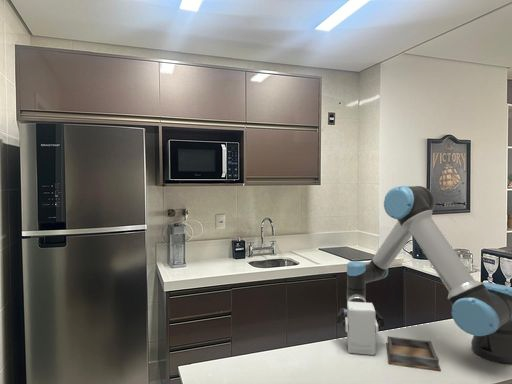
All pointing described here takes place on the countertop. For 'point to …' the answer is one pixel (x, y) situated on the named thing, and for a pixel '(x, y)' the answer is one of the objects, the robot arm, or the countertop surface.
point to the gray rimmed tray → (412, 353)
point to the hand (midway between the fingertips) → (361, 329)
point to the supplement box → (361, 328)
